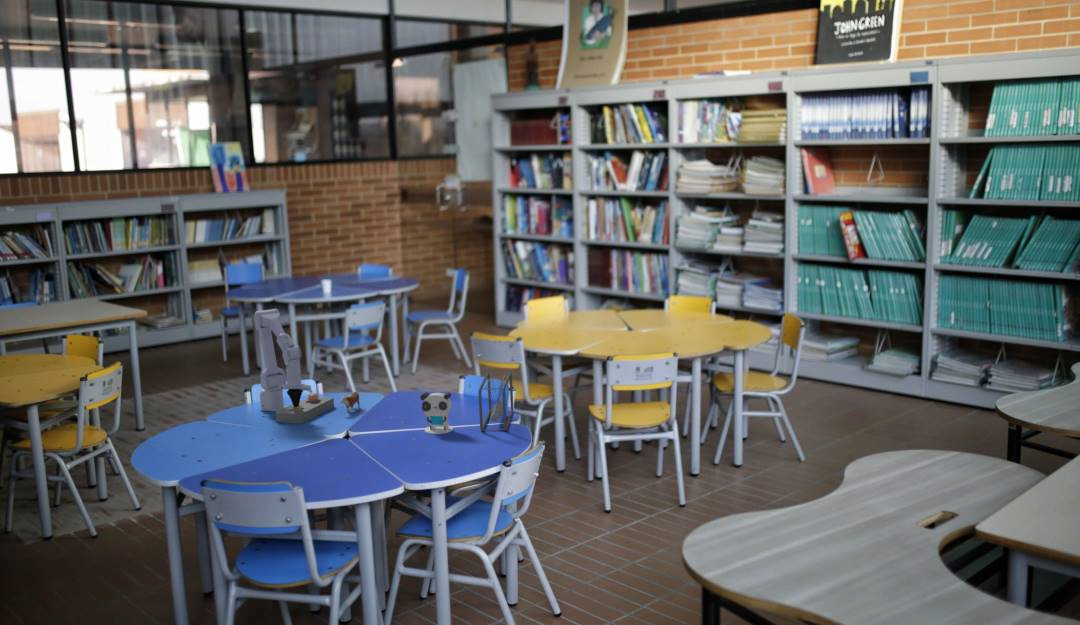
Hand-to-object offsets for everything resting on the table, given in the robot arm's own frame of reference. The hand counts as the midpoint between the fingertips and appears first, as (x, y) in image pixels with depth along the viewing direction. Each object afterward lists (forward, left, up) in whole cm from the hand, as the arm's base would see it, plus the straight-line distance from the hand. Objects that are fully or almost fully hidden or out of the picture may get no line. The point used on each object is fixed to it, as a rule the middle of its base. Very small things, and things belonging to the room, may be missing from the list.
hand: (296, 406), depth 405 cm
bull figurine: (+17, +16, -6) cm, 24 cm away
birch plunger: (0, 0, -4) cm, 4 cm away
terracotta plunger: (0, +13, -2) cm, 13 cm away
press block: (0, +7, -5) cm, 8 cm away
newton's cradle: (+85, +16, -6) cm, 87 cm away
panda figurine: (+66, 0, -6) cm, 66 cm away
